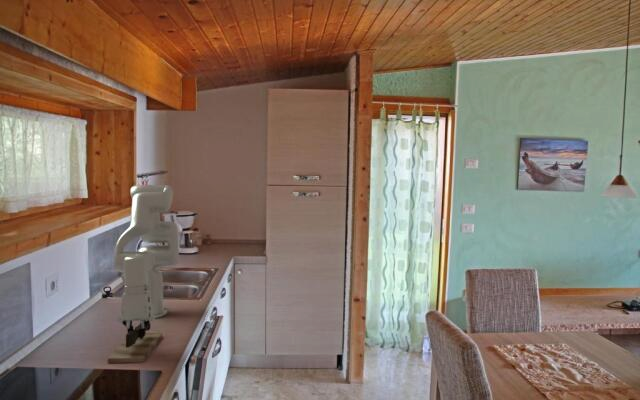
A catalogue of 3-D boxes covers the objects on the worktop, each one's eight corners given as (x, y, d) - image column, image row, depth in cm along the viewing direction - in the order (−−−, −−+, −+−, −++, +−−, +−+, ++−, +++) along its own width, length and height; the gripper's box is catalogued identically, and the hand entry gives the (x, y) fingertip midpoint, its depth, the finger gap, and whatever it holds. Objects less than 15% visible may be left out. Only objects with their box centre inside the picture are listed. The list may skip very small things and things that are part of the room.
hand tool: (140, 330, 186) (140, 318, 185) (150, 330, 185) (150, 318, 185) (118, 349, 167) (118, 336, 166) (130, 349, 167) (129, 336, 166)
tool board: (131, 337, 188) (131, 333, 188) (162, 336, 189) (162, 333, 189) (107, 362, 164) (107, 358, 164) (143, 362, 165) (143, 357, 165)
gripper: (161, 286, 179) (162, 334, 180) (116, 286, 178) (117, 334, 179) (155, 291, 171) (156, 341, 173) (108, 292, 170) (110, 342, 172)
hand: (136, 337), depth 176 cm, fingers closed on hand tool, 3 cm apart
